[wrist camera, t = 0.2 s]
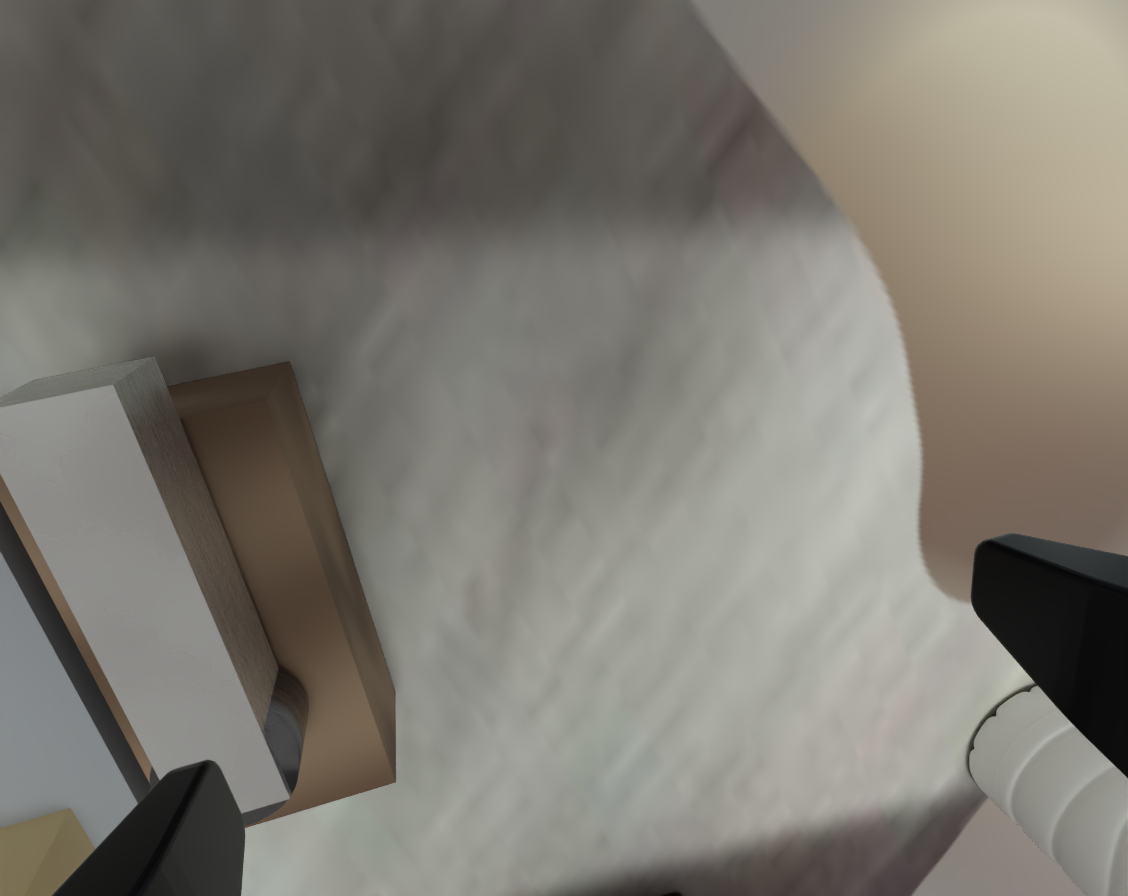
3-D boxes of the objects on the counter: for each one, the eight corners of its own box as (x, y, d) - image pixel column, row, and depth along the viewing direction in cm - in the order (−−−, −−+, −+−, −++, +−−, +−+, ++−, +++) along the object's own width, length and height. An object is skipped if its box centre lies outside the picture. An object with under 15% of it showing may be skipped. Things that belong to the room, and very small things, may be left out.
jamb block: (395, 692, 24) (396, 782, 20) (216, 742, 23) (182, 846, 19) (289, 361, 19) (265, 400, 16) (61, 408, 18) (-21, 461, 15)
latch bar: (323, 739, 19) (314, 811, 17) (202, 774, 18) (177, 852, 16) (174, 352, 15) (136, 379, 13) (13, 384, 14) (-56, 419, 12)
